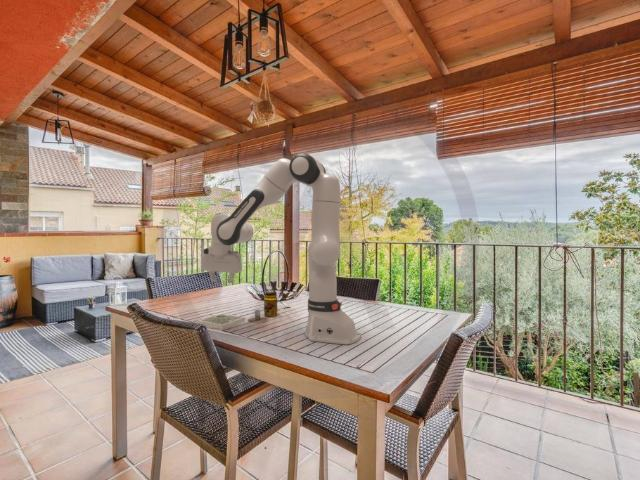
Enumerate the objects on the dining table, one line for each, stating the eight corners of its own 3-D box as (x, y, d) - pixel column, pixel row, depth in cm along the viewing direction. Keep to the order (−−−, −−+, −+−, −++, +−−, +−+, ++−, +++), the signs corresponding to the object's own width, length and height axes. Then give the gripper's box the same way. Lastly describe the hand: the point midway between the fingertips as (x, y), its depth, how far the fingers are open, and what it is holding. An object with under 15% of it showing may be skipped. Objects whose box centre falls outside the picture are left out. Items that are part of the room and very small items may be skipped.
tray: (244, 322, 154) (244, 317, 154) (222, 330, 142) (222, 325, 142) (221, 318, 161) (221, 313, 161) (198, 326, 148) (197, 320, 148)
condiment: (264, 319, 160) (264, 294, 159) (261, 315, 168) (261, 290, 167) (279, 318, 162) (280, 293, 161) (276, 314, 170) (276, 289, 170)
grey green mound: (271, 320, 158) (271, 309, 158) (259, 325, 150) (259, 313, 150) (255, 318, 162) (255, 307, 162) (243, 322, 154) (243, 311, 154)
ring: (231, 322, 152) (231, 315, 152) (221, 325, 147) (221, 318, 147) (221, 320, 155) (221, 314, 155) (211, 323, 150) (211, 317, 150)
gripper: (245, 250, 148) (245, 282, 149) (210, 249, 158) (210, 279, 158) (235, 251, 142) (235, 284, 143) (199, 249, 152) (199, 281, 152)
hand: (222, 281), depth 151 cm, fingers open, 8 cm apart
